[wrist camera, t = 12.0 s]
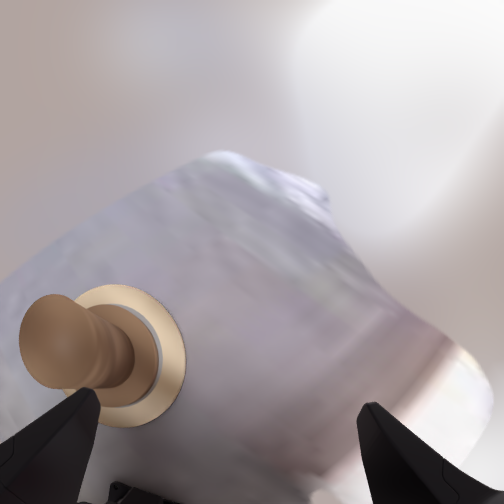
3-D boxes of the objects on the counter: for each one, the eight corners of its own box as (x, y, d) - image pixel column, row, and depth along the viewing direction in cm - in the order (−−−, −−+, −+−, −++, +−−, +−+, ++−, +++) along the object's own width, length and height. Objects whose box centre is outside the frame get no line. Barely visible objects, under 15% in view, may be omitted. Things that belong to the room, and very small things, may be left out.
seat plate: (166, 446, 18) (158, 455, 15) (46, 390, 18) (27, 389, 15) (203, 311, 23) (200, 302, 20) (83, 271, 23) (69, 259, 20)
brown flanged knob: (148, 418, 18) (104, 442, 9) (62, 385, 17) (-7, 380, 9) (168, 322, 21) (136, 287, 13) (83, 298, 21) (25, 255, 13)
